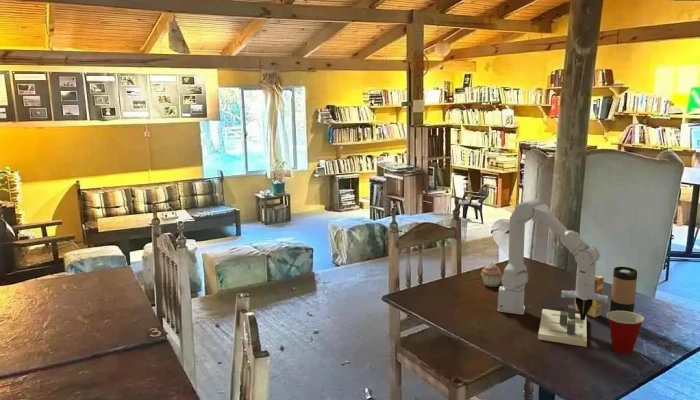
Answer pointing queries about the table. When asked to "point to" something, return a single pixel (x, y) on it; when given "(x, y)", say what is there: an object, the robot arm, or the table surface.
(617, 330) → the plastic cup
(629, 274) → the travel mug
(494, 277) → the cupcake
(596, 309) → the candy box
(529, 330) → the table surface
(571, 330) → the switch near
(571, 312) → the switch far
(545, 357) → the table surface
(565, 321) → the switch
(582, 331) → the breaker panel
